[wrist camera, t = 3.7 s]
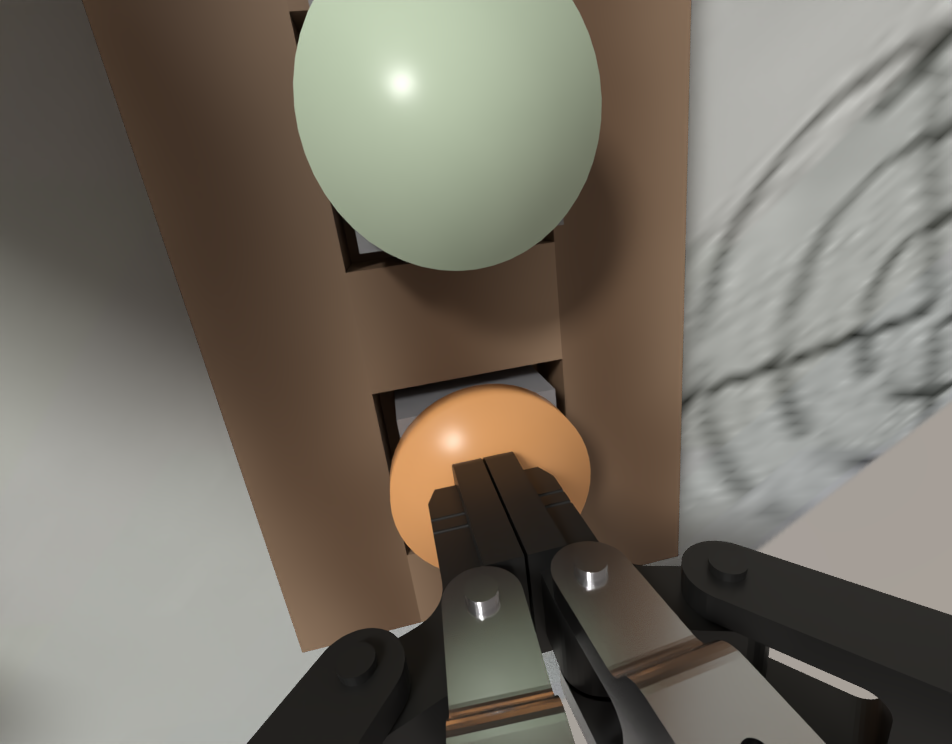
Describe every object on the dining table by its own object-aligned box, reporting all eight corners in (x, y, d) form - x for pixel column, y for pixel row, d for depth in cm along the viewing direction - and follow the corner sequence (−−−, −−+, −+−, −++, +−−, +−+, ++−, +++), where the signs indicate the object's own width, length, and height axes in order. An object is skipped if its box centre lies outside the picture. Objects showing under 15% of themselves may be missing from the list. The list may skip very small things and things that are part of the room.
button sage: (524, 13, 11) (596, -88, 7) (541, 240, 12) (606, 248, 9) (297, 30, 10) (251, -73, 6) (348, 268, 12) (334, 291, 8)
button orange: (535, 338, 14) (585, 377, 11) (547, 477, 16) (594, 550, 13) (372, 367, 14) (370, 418, 10) (403, 509, 15) (410, 595, 12)
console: (614, -577, 9) (712, -909, 7) (632, 503, 18) (678, 555, 15) (-58, -651, 8) (-303, -1137, 5) (315, 578, 16) (302, 652, 14)
